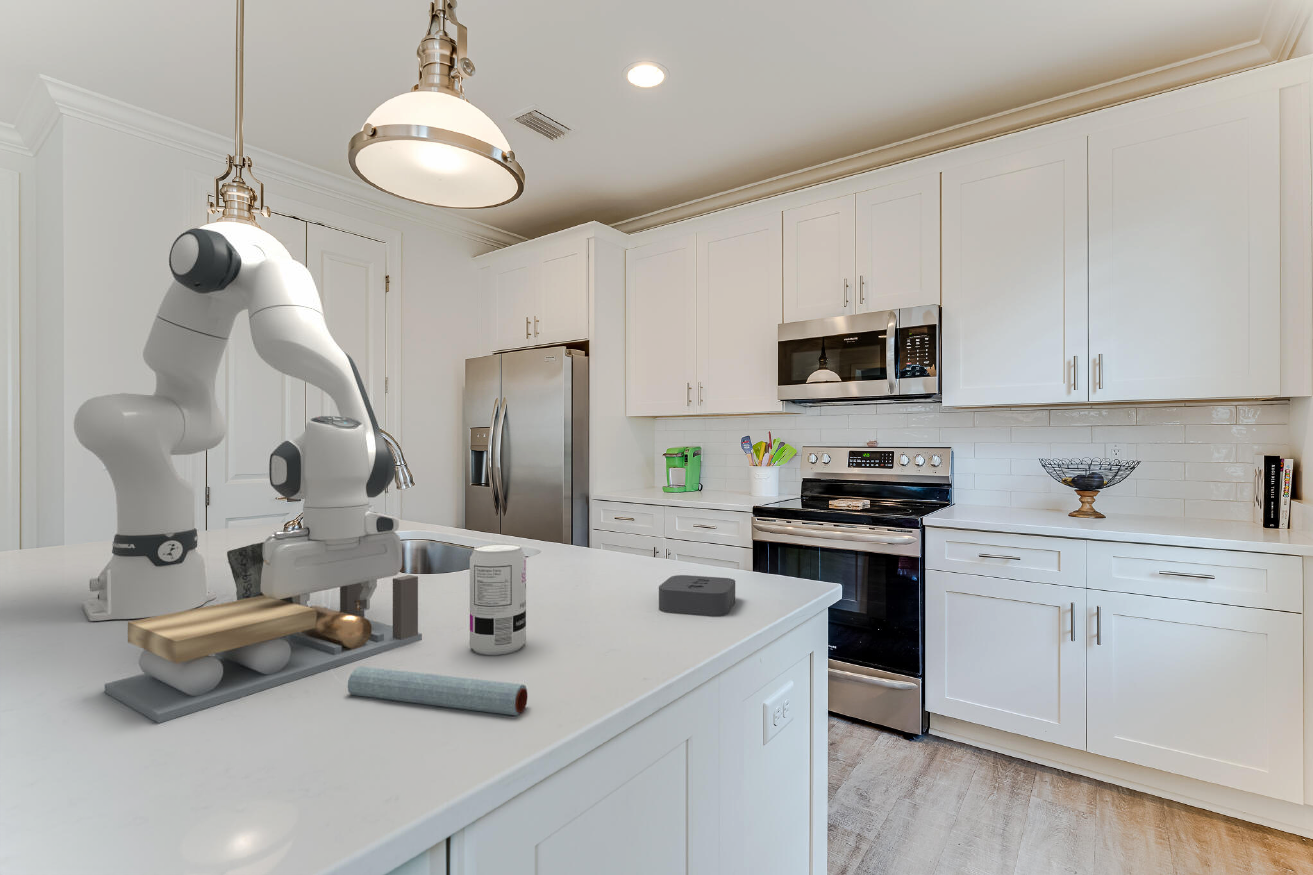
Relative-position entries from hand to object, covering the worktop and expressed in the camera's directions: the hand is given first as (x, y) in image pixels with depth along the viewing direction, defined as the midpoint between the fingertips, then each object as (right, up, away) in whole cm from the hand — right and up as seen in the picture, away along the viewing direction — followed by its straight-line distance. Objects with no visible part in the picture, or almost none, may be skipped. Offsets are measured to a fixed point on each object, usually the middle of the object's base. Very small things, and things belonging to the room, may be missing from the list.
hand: (336, 616), depth 95 cm
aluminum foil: (+21, -5, -21) cm, 30 cm away
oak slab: (-8, +1, -13) cm, 15 cm away
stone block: (-15, -5, +7) cm, 17 cm away
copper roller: (0, -1, 0) cm, 1 cm away
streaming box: (+56, -5, +23) cm, 60 cm away
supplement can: (+24, -5, 0) cm, 25 cm away
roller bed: (-4, -5, -7) cm, 9 cm away
